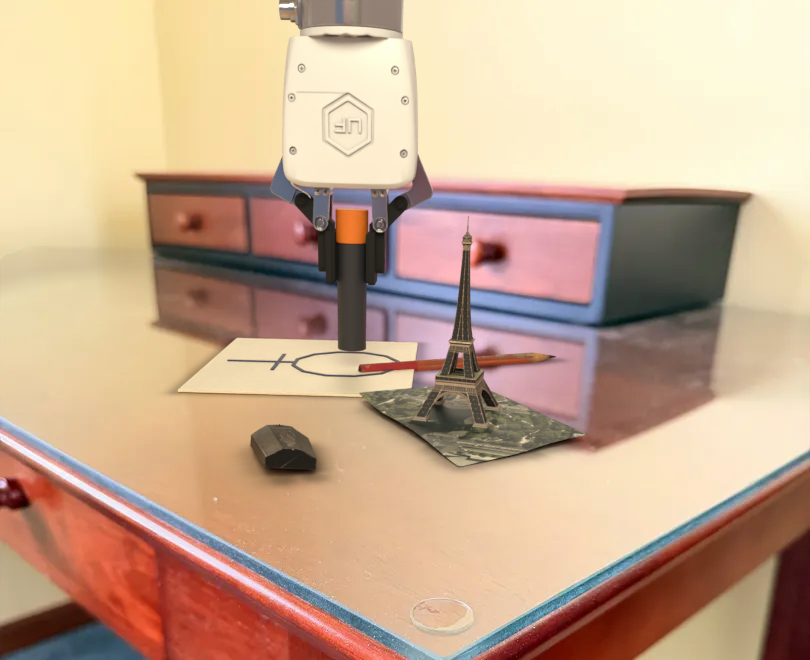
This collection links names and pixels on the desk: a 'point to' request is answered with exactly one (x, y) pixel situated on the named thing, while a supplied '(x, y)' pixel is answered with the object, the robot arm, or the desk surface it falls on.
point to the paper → (302, 368)
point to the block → (283, 448)
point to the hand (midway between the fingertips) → (352, 280)
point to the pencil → (438, 363)
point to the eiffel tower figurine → (468, 401)
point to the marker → (351, 277)
